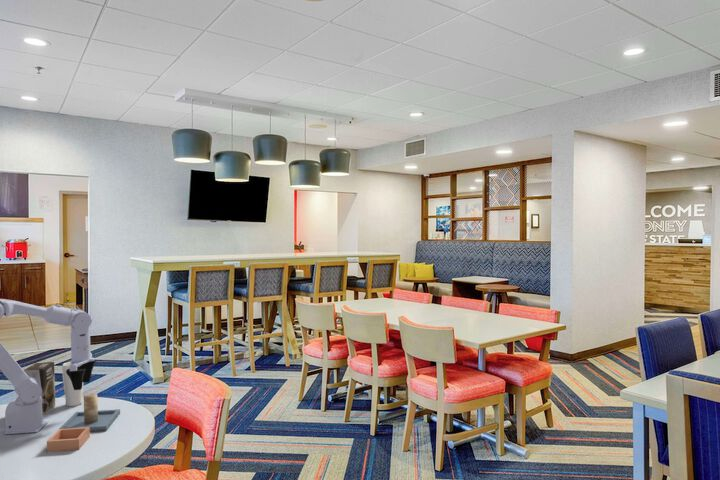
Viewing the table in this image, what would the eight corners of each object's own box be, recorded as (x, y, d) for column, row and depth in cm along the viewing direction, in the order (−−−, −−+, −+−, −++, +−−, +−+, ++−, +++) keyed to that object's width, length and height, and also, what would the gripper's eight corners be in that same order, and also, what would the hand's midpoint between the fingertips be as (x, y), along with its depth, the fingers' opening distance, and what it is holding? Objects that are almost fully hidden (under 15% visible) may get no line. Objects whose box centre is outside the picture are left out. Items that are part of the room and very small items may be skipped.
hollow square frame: (47, 451, 145) (46, 441, 145) (59, 438, 154) (59, 429, 153) (79, 449, 147) (78, 439, 146) (89, 436, 155) (89, 427, 155)
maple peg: (82, 424, 163) (81, 398, 162) (86, 419, 167) (86, 394, 166) (95, 423, 163) (94, 397, 163) (99, 418, 167) (99, 393, 167)
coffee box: (44, 415, 171) (43, 369, 171) (24, 416, 170) (22, 369, 170) (56, 405, 180) (55, 361, 180) (36, 406, 179) (35, 362, 179)
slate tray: (58, 433, 157) (58, 429, 157) (76, 416, 171) (76, 411, 171) (106, 430, 159) (106, 426, 159) (120, 413, 173) (120, 409, 173)
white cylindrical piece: (89, 401, 185) (87, 360, 184) (76, 408, 178) (75, 366, 177) (71, 400, 185) (70, 360, 185) (59, 407, 179) (57, 365, 178)
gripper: (85, 351, 163) (86, 392, 164) (100, 340, 178) (102, 378, 178) (62, 352, 162) (63, 393, 163) (79, 341, 177) (80, 379, 177)
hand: (82, 385), depth 171 cm, fingers open, 7 cm apart
